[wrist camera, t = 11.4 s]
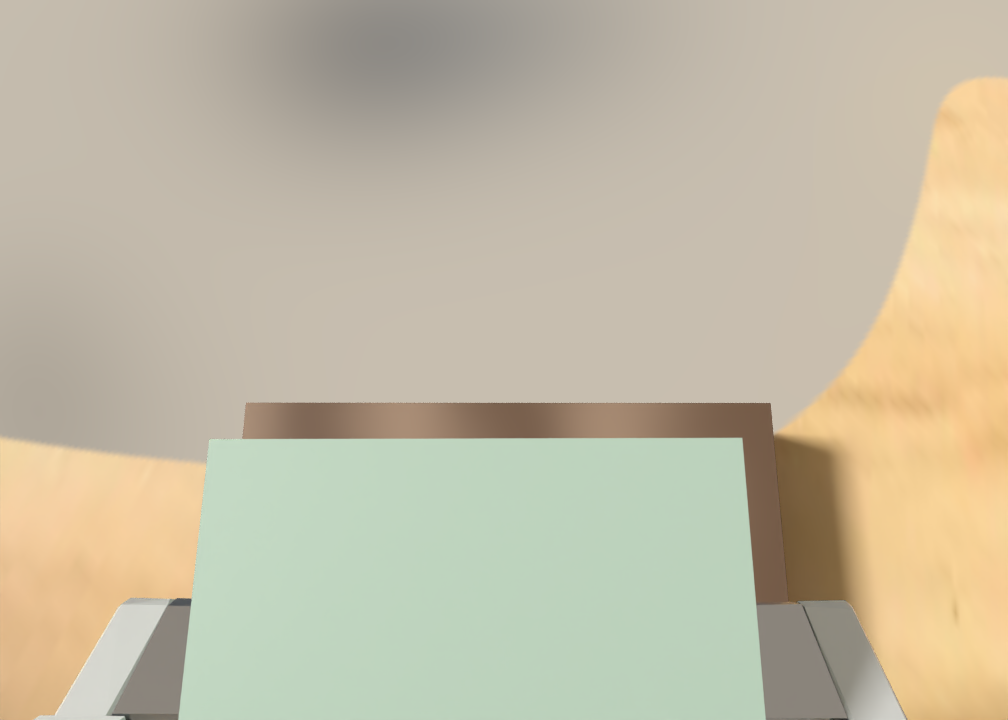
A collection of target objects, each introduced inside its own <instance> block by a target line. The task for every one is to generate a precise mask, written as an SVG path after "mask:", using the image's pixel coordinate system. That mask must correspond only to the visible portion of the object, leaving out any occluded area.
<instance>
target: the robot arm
mask: <svg viewBox="0 0 1008 720" xmlns="http://www.w3.org/2000/svg"><path fill="white" fill-rule="evenodd" d="M191 601H192V599H185V598H177V599H175V600H174V599H152V598H130V599H128V600H127V601H125V602H124V603H123V604H121V605H120V606H119V607H118V608H117V610H116V612H115V614H114V615H113V617H112V619H111V620H110V622H109V624H108V625H107V627H106V629H105V630H104V632H103V634H102V636H101V637H100V639H99V641H98V642H97V644H96V646H95V647H94V649H93V651H92V652H91V654H90V656H89V658H88V659H87V661H86V663H85V664H84V666H83V668H82V669H81V671H80V673H79V675H78V676H77V678H76V680H75V681H74V683H73V685H72V686H71V688H70V690H69V691H68V693H67V695H66V697H65V698H64V700H63V702H62V703H61V705H60V707H59V708H58V710H57V712H56V713H55V715H47V716H38V717H37V718H35V719H34V720H178V718H179V709H180V700H181V691H182V682H183V673H184V664H185V655H186V646H187V637H188V628H189V619H190V610H191ZM756 609H757V621H758V633H759V645H760V657H761V669H762V681H763V693H764V705H765V717H766V720H907V718H906V716H905V714H904V712H903V710H902V708H901V705H900V703H899V701H898V699H897V697H896V695H895V693H894V691H893V689H892V687H891V685H890V683H889V681H888V679H887V677H886V674H885V672H884V670H883V668H882V666H881V664H880V662H879V660H878V658H877V656H876V654H875V652H874V650H873V648H872V646H871V643H870V641H869V639H868V637H867V635H866V633H865V631H864V629H863V627H862V625H861V623H860V621H859V619H858V617H857V615H856V612H855V610H854V608H853V606H851V605H850V604H849V603H848V602H846V601H845V600H829V601H797V602H796V603H795V602H756Z"/></svg>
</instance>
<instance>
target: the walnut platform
mask: <svg viewBox="0 0 1008 720" xmlns="http://www.w3.org/2000/svg"><path fill="white" fill-rule="evenodd" d="M481 438H742V441H743V453H744V465H745V477H746V489H747V501H748V513H749V525H750V537H751V549H752V561H753V573H754V585H755V597H756V602H789V601H788V590H787V579H786V568H785V557H784V546H783V535H782V524H781V513H780V502H779V491H778V480H777V469H776V458H775V447H774V436H773V425H772V415H771V404H770V403H246V409H245V419H244V429H243V439H481Z"/></svg>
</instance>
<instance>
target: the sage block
mask: <svg viewBox="0 0 1008 720" xmlns="http://www.w3.org/2000/svg"><path fill="white" fill-rule="evenodd" d="M178 720H766V717H765V705H764V693H763V681H762V669H761V657H760V645H759V633H758V621H757V609H756V597H755V585H754V573H753V561H752V549H751V537H750V525H749V513H748V501H747V489H746V477H745V465H744V453H743V441H742V438H481V439H209V447H208V456H207V465H206V474H205V484H204V493H203V502H202V511H201V520H200V529H199V538H198V547H197V556H196V565H195V574H194V583H193V592H192V601H191V610H190V619H189V628H188V637H187V646H186V655H185V664H184V673H183V682H182V691H181V700H180V709H179V718H178Z"/></svg>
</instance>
